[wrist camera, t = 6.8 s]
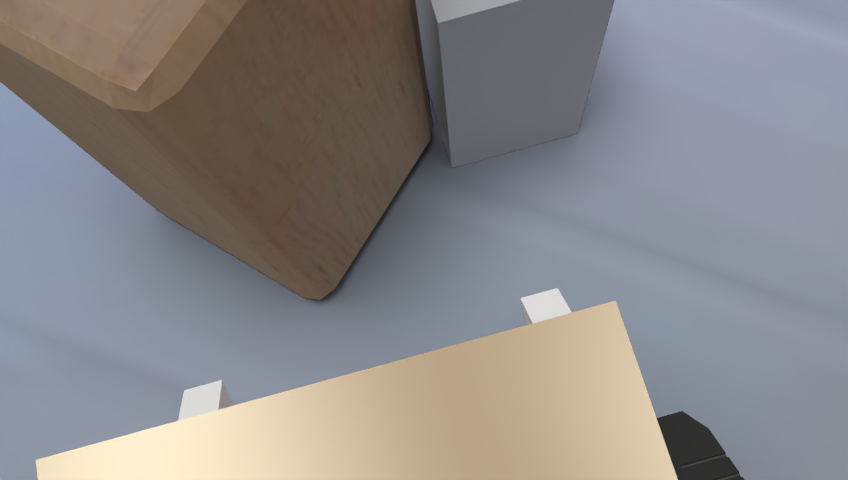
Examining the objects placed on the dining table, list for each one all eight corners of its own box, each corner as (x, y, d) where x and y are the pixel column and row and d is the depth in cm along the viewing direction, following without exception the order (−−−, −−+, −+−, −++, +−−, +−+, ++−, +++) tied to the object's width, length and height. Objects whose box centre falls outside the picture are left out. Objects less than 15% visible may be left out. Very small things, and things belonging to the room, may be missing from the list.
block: (442, 131, 36) (398, -251, 17) (326, 313, 34) (130, 107, 15) (268, 41, 38) (58, -389, 19) (149, 207, 36) (-221, -92, 17)
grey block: (452, 168, 36) (437, 23, 24) (418, 57, 38) (390, -127, 26) (577, 133, 36) (622, -28, 24) (538, 24, 38) (562, -173, 26)
